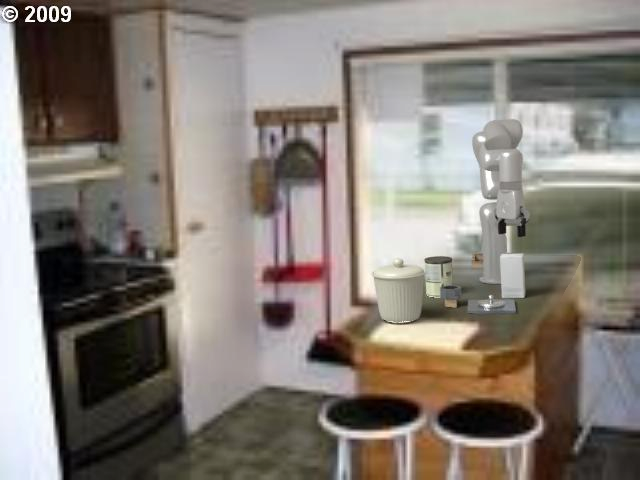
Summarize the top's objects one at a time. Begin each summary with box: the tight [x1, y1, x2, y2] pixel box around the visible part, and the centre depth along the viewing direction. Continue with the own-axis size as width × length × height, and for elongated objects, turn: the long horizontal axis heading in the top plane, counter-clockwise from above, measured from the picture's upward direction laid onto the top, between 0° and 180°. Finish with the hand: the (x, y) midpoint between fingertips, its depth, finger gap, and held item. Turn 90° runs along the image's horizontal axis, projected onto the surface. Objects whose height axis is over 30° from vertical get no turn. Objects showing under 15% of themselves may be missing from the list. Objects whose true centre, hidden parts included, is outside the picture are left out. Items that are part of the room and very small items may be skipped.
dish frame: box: [471, 252, 517, 270], centre depth 353 cm, size 20×19×3 cm
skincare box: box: [500, 253, 526, 299], centre depth 289 cm, size 8×7×16 cm
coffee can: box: [424, 255, 454, 299], centre depth 298 cm, size 10×10×14 cm
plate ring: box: [439, 284, 462, 300], centre depth 282 cm, size 7×7×4 cm
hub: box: [467, 294, 517, 315], centre depth 275 cm, size 16×16×4 cm
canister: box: [371, 257, 426, 322], centre depth 265 cm, size 18×18×21 cm
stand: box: [444, 299, 458, 308], centre depth 282 cm, size 6×4×4 cm, turn 168°
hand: (511, 235), depth 277 cm, fingers open, 9 cm apart
